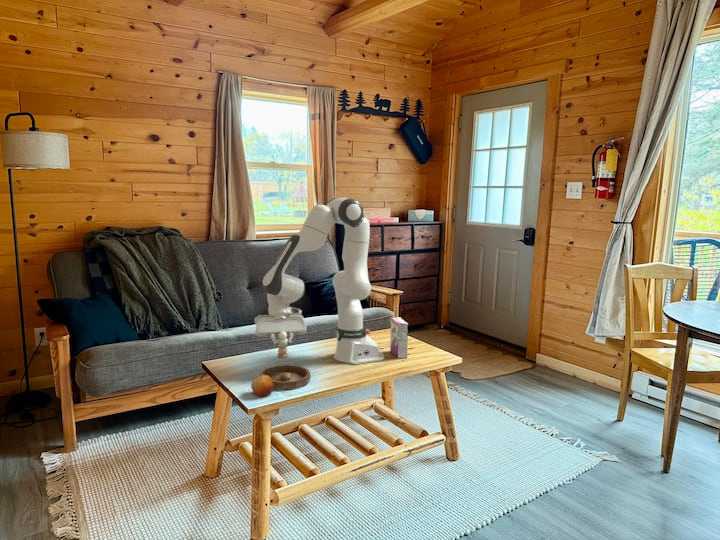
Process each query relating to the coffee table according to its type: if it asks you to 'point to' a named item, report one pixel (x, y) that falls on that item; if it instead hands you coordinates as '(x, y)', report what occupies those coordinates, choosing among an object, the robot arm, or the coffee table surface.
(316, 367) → the coffee table surface
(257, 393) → the fruit
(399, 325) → the candy bar box
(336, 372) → the coffee table surface
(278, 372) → the walnut tray
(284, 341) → the bead column
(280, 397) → the coffee table surface
